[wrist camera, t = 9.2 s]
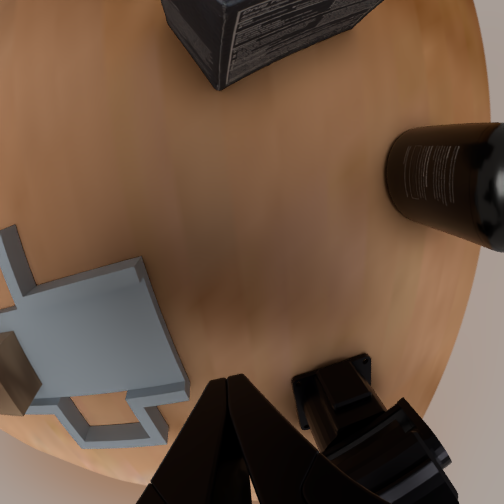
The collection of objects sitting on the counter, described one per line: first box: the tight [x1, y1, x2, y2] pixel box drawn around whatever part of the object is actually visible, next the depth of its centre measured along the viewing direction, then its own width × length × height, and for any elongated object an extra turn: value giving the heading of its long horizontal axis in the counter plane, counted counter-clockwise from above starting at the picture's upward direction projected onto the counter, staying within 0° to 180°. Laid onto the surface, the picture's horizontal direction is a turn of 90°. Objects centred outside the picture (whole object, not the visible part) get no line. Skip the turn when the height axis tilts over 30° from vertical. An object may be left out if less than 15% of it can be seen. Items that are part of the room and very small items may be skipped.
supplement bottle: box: [387, 122, 504, 252], centre depth 13 cm, size 7×7×12 cm
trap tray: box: [0, 225, 190, 449], centre depth 18 cm, size 20×19×2 cm
